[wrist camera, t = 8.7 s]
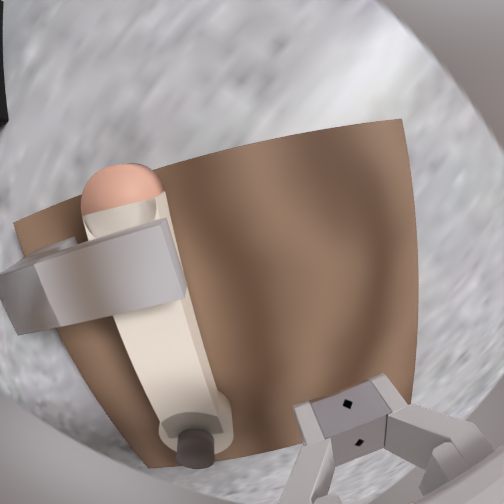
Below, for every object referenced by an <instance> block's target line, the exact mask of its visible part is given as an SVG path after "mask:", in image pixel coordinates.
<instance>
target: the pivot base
mask: <svg viewBox="0 0 504 504" xmlns="http://www.w3.org/2000/svg"><path fill="white" fill-rule="evenodd" d="M153 171H154V172H155V173H156V174H157V175H158V177H159V178H160V179H161V181H162V183H163V186H164V189H165V193H166V198H167V203H168V207H169V212H170V217H171V221H172V225H173V230H174V234H175V239H176V243H177V247H178V251H179V255H180V259H181V263H180V260H179V257H178V254H177V251H176V247H175V244H174V241H173V238H172V234H171V231H170V228H169V225H168V221H167V218H166V217H165V218H162V219H159V220H155V221H152V222H148V223H145V224H141V225H138V226H135V227H131V228H128V229H125V230H122V231H118V232H115V233H112V234H109V235H105V236H102V237H99V238H96V239H93V240H90V241H88V237H87V233H86V230H85V226H84V222H83V218H82V213H81V197H82V195H79V196H77V197H74V198H71V199H69V200H66V201H64V202H61V203H59V204H56V205H54V206H51V207H49V208H46V209H44V210H42V211H39V212H37V213H35V214H32V215H30V216H28V217H25V218H23V219H21V220H19V221H16V222H14V223H13V224H14V227H15V230H16V233H17V236H18V239H19V242H20V245H21V248H22V250H23V253H24V256H25V257H24V258H23V259H21V260H20V261H18V262H17V263H15V264H14V265H12V266H11V267H9V268H8V269H6V270H5V271H4V272H2V273H1V274H0V300H1V302H2V304H3V306H4V309H5V311H6V313H7V315H8V317H9V319H10V321H11V323H12V325H13V327H14V329H15V331H16V333H17V335H23V334H28V333H33V332H38V331H43V330H48V329H52V328H56V329H57V331H58V333H59V335H60V337H61V339H62V341H63V343H64V345H65V347H66V349H67V350H68V352H69V354H70V356H71V358H72V359H73V361H74V363H75V365H76V366H77V368H78V370H79V371H80V373H81V375H82V377H83V378H84V380H85V381H86V383H87V385H88V386H89V388H90V389H91V391H92V393H93V394H94V396H95V397H96V399H97V400H98V402H99V403H100V405H101V406H102V408H103V409H104V411H105V412H106V414H107V415H108V417H109V418H110V419H111V421H112V422H113V424H114V425H115V426H116V428H117V429H118V430H119V432H120V433H121V435H122V436H123V437H124V439H125V440H126V441H127V442H128V444H129V445H130V446H131V448H132V449H133V450H134V451H135V453H136V454H137V455H138V456H139V458H140V459H141V460H142V461H143V462H144V464H145V465H146V466H147V467H148V468H162V467H174V466H185V467H188V468H192V469H203V468H207V467H210V466H211V465H213V463H214V462H215V461H222V460H228V459H234V458H239V457H245V456H250V455H255V454H259V453H264V452H269V451H273V450H277V449H281V448H285V447H289V446H293V445H297V444H301V443H303V442H302V440H301V436H300V433H299V429H298V426H297V422H296V418H295V414H294V410H293V405H296V404H299V403H302V402H306V401H309V400H312V399H315V398H318V397H322V396H325V395H328V394H331V393H334V392H337V391H339V390H341V389H344V388H346V387H349V386H352V385H354V384H357V383H359V382H361V381H364V380H366V379H369V378H372V377H374V376H377V375H379V374H381V373H383V374H385V375H386V376H387V378H388V379H389V380H390V382H391V383H392V384H393V386H394V387H395V388H396V390H397V391H398V392H399V394H400V395H401V396H402V398H403V399H404V401H405V402H406V403H407V405H409V404H411V397H412V389H413V380H414V371H415V360H416V346H417V329H418V248H417V230H416V217H415V205H414V196H413V187H412V178H411V171H410V164H409V157H408V151H407V145H406V139H405V133H404V128H403V123H402V119H395V120H386V121H377V122H370V123H362V124H355V125H348V126H342V127H335V128H329V129H323V130H317V131H312V132H306V133H301V134H295V135H290V136H285V137H280V138H275V139H271V140H266V141H261V142H257V143H252V144H248V145H244V146H239V147H235V148H231V149H227V150H223V151H219V152H215V153H211V154H207V155H204V156H200V157H196V158H193V159H189V160H185V161H182V162H178V163H175V164H172V165H168V166H165V167H161V168H158V169H155V170H153ZM181 264H182V266H181ZM182 268H183V269H182ZM187 287H188V291H189V295H190V299H191V302H192V306H193V310H194V313H195V317H196V321H197V324H198V328H199V331H200V335H201V338H202V342H203V345H204V348H205V352H206V355H207V359H208V362H209V365H210V368H211V372H212V375H213V378H214V381H215V384H216V387H217V390H218V391H220V392H221V393H223V394H224V395H225V396H226V397H227V398H228V400H229V402H230V404H231V412H232V423H233V441H232V443H231V444H230V446H229V447H228V448H226V449H225V450H223V451H222V452H220V453H217V454H214V438H213V436H212V435H211V434H210V433H209V432H207V431H205V430H201V429H187V430H184V431H182V432H181V433H180V434H179V435H178V442H177V452H176V451H174V450H172V449H171V448H169V447H168V446H167V445H165V444H164V442H163V441H162V440H161V438H160V436H159V425H160V421H159V419H158V417H157V415H156V413H155V411H154V409H153V407H152V405H151V403H150V401H149V399H148V397H147V395H146V393H145V390H144V388H143V386H142V384H141V382H140V380H139V378H138V375H137V373H136V371H135V369H134V366H133V364H132V362H131V360H130V357H129V355H128V352H127V350H126V348H125V345H124V343H123V340H122V338H121V335H120V333H119V330H118V328H117V325H116V323H115V320H114V317H113V315H116V314H121V313H125V312H130V311H134V310H138V309H142V308H147V307H151V306H155V305H159V304H164V303H168V302H172V301H176V300H180V299H184V298H185V294H186V289H187Z"/></svg>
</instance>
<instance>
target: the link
mask: <svg viewBox="0 0 504 504" xmlns="http://www.w3.org/2000/svg"><path fill="white" fill-rule="evenodd" d="M81 213H82V218H83V222H84V226H85V230H86V233H87V237H88V241H90V240H93V239H96V238H99V237H102V236H105V235H109V234H112V233H115V232H118V231H122V230H125V229H128V228H131V227H135V226H138V225H141V224H145V223H148V222H152V221H155V220H159V219H162V218H165V217H166V218H167V221H168V225H169V228H170V231H171V234H172V238H173V241H174V244H175V247H176V251H177V254H178V257H179V260H180V263H181V259H180V255H179V251H178V247H177V243H176V239H175V234H174V230H173V225H172V221H171V217H170V212H169V207H168V203H167V198H166V193H165V189H164V186H163V183H162V181H161V179H160V178H159V177H158V175H157V174H156V173H155V172H154V171H153V170H151V169H150V168H148V167H146V166H144V165H141V164H136V163H129V164H122V165H115V166H110V167H106V168H104V169H102V170H100V171H98V172H97V173H95V174H94V175H93V176H92V177H91V178H90V180H89V181H88V182H87V184H86V186H85V188H84V190H83V193H82V197H81ZM181 266H182V264H181ZM182 269H183V268H182ZM113 317H114V320H115V323H116V325H117V328H118V330H119V333H120V335H121V338H122V340H123V343H124V345H125V348H126V350H127V352H128V355H129V357H130V360H131V362H132V364H133V366H134V369H135V371H136V373H137V375H138V378H139V380H140V382H141V384H142V386H143V388H144V390H145V393H146V395H147V397H148V399H149V401H150V403H151V405H152V407H153V409H154V411H155V413H156V415H157V417H158V419H159V421H160V425H159V436H160V438H161V440H162V441H163V442H164V444H165V445H167V446H168V447H169V448H171V449H172V450H174V451H176V452H177V442H178V435H179V434H180V433H181V432H182V431H184V430H187V429H201V430H205V431H207V432H209V433H210V434H211V435H212V436H213V438H214V454H217V453H220V452H222V451H223V450H225V449H226V448H228V447H229V446H230V444H231V443H232V441H233V423H232V412H231V404H230V402H229V400H228V398H227V397H226V396H225V395H224V394H223V393H221V392H220V391H218V390H217V387H216V384H215V381H214V378H213V375H212V372H211V368H210V365H209V362H208V359H207V355H206V352H205V348H204V345H203V342H202V338H201V335H200V331H199V328H198V324H197V321H196V317H195V313H194V310H193V306H192V302H191V299H190V295H189V291H188V287H187V289H186V294H185V298H184V299H180V300H176V301H172V302H168V303H164V304H159V305H155V306H151V307H147V308H142V309H138V310H134V311H130V312H125V313H121V314H116V315H113Z"/></svg>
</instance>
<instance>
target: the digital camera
mask: <svg viewBox="0 0 504 504" xmlns="http://www.w3.org/2000/svg"><path fill="white" fill-rule="evenodd" d="M0 122H3V123H0V126H2V125H4V124H5V123H7V122H8V112H7V103H6V94H5V83H4V69H3V1H2V0H0Z"/></svg>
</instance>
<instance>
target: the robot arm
mask: <svg viewBox="0 0 504 504" xmlns="http://www.w3.org/2000/svg"><path fill="white" fill-rule="evenodd" d="M293 410H294V414H295V418H296V422H297V426H298V429H299V433H300V436H301V440H302V442H303V445H304V446H303V447H301V450H300V452H299V455H298V457H297V460H296V462H295V465H294V467H293V470H292V472H291V474H290V477H289V479H288V482H287V484H286V486H285V489H284V491H283V493H282V495H281V498H280V500H279V502H278V504H342V503H341V501H340V498H339V496H338V495H335V494H329V495H328V491H329V488H330V484H331V481H332V477H333V473H334V470H335V467H336V466H339V465H341V464H344V463H347V462H349V461H352V460H354V459H356V458H359V457H361V456H364V455H367V454H369V453H372V452H374V451H377V450H379V449H382V448H384V447H385V448H384V449H386V450H388V451H390V452H392V453H393V454H395V455H397V456H399V457H401V458H403V459H405V460H407V461H409V462H410V463H412V464H414V465H416V466H418V467H420V468H422V469H425V470H426V471H425V474H424V476H423V479H422V481H421V484H420V486H419V489H420V490H421V492H422V494H423V497H421V498H419V499H417V500H415V501H413V502H411V503H409V504H504V444H503V445H501V446H500V447H499V448H497V449H496V450H495V449H494V447H493V446H492V445H491V444H490V443H489V442H488V440H487V439H486V438H485V436H484V435H483V434H482V433H481V432H480V430H479V429H478V428H477V427H476V426H475V424H474V423H471V422H468V421H464V420H461V419H458V418H455V417H451V416H448V415H445V414H442V413H439V412H436V411H433V410H430V409H427V408H424V407H421V406H418V405H415V404H409V405H407V403H406V402H405V401H404V399H403V398H402V396H401V395H400V394H399V392H398V391H397V390H396V388H395V387H394V386H393V384H392V383H391V382H390V380H389V379H388V378H387V376H386V375H385V374H383V373H381V374H379V375H377V376H374V377H372V378H369V379H366V380H364V381H361V382H359V383H357V384H354V385H352V386H349V387H346V388H344V389H341V390H339V391H337V392H334V393H331V394H328V395H325V396H322V397H318V398H315V399H312V400H309V401H306V402H302V403H299V404H296V405H293Z"/></svg>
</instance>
